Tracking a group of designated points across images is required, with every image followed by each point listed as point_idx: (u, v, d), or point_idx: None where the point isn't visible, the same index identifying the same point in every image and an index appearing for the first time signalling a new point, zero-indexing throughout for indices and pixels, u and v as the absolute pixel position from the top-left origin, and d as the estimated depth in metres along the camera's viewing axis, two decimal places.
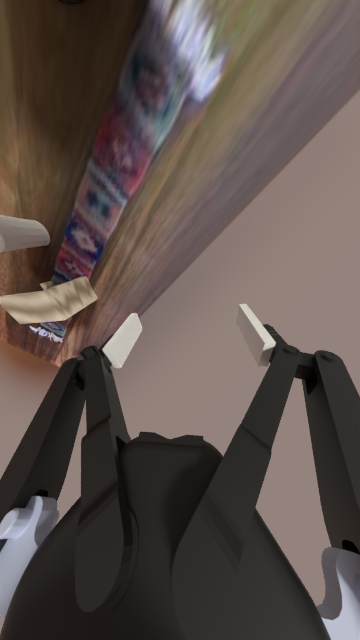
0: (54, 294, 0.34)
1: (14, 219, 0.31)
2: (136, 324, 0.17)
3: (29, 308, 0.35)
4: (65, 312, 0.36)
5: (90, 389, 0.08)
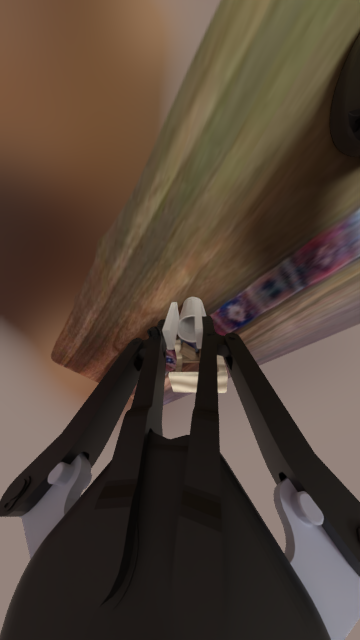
0: None
1: (201, 307, 0.33)
2: (177, 312, 0.18)
3: None
4: None
5: (145, 367, 0.09)
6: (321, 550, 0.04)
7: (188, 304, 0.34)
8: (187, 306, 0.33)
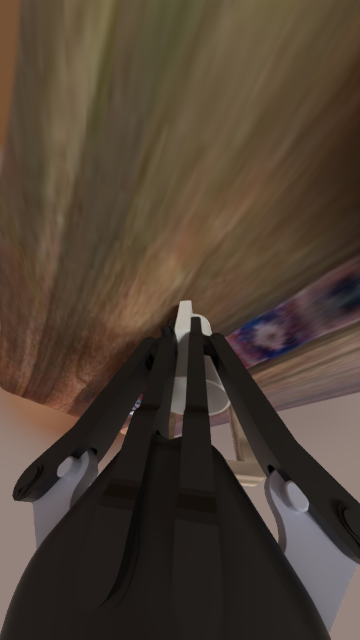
0: None
1: None
2: None
3: None
4: None
5: (156, 366, 0.09)
6: (309, 535, 0.04)
7: None
8: None
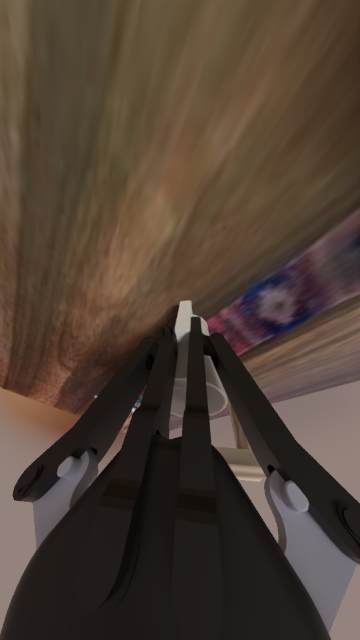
0: None
1: None
2: None
3: None
4: None
5: (156, 366, 0.09)
6: (309, 535, 0.04)
7: None
8: None
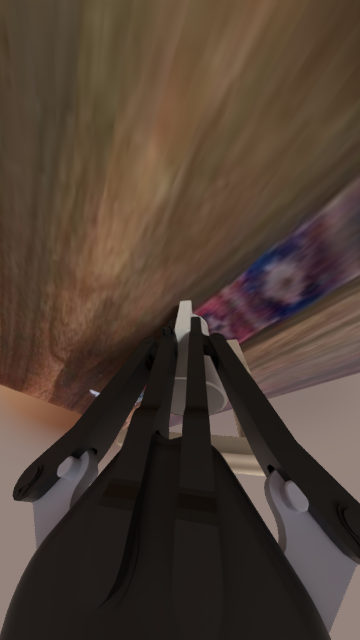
0: None
1: None
2: None
3: None
4: None
5: (156, 366, 0.09)
6: (309, 535, 0.04)
7: None
8: None
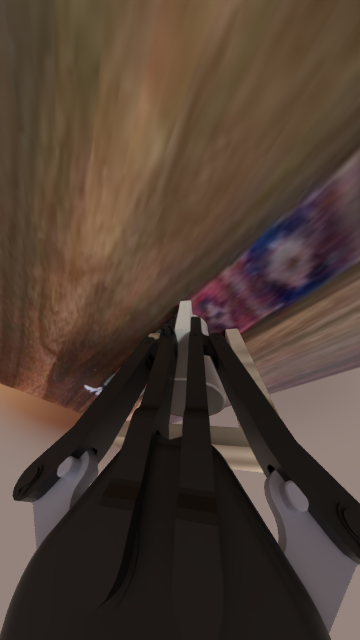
0: None
1: None
2: None
3: None
4: None
5: (156, 366, 0.09)
6: (309, 535, 0.04)
7: None
8: None
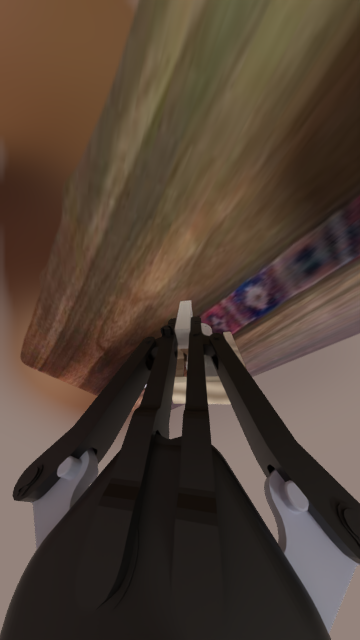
0: None
1: None
2: None
3: (207, 393, 0.26)
4: None
5: (156, 366, 0.09)
6: (309, 534, 0.04)
7: None
8: None
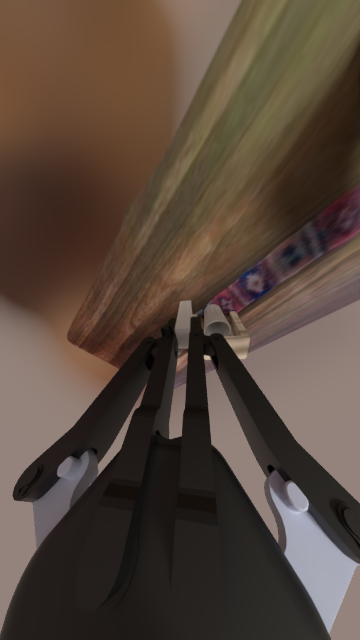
0: None
1: (223, 314, 0.41)
2: None
3: None
4: None
5: (156, 366, 0.09)
6: (309, 535, 0.04)
7: (212, 310, 0.42)
8: (213, 312, 0.41)
